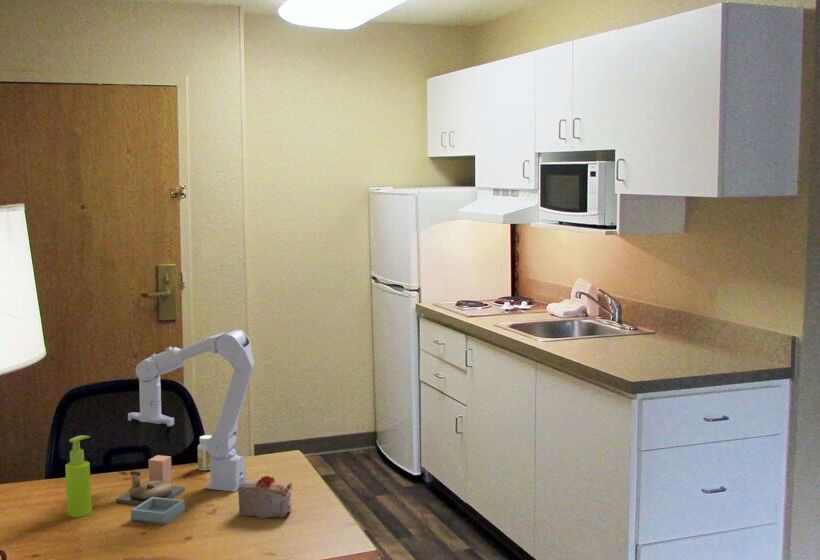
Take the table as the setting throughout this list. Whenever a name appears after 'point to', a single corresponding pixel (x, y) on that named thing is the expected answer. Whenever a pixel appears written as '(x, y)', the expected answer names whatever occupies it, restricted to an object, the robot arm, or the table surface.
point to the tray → (158, 511)
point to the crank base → (130, 500)
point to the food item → (264, 498)
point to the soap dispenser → (78, 481)
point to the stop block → (160, 468)
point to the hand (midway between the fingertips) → (151, 447)
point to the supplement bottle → (203, 453)
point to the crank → (148, 488)
